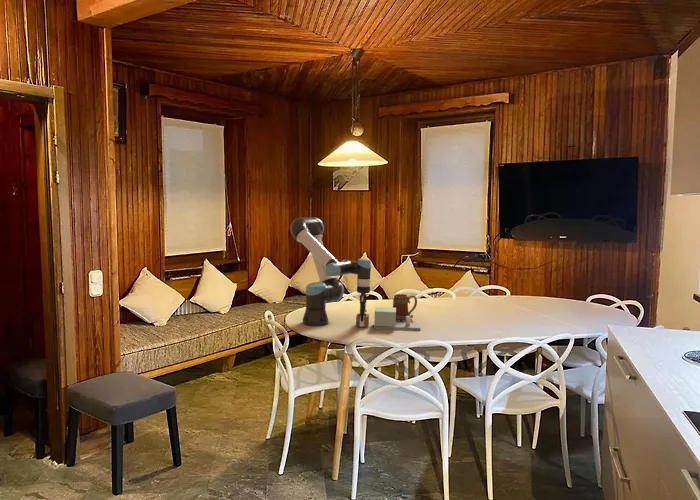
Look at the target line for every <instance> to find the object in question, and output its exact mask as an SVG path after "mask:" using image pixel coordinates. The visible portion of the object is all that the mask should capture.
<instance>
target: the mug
mask: <svg viewBox="0 0 700 500" xmlns="http://www.w3.org/2000/svg"><path fill="white" fill-rule="evenodd" d="M411 298H413V299H414V305H413V307H412V308H411V309H410V310H409V304H411V301H410V299H411ZM417 305H418V299H417V297H416V295H413V294H411V295H409V296H408V295H407V294H404V293H396V294H394V295H393V299H392V308H396V322H406V316H410V319H412V318H413V317H414V314H411V313H413V312H414V310H415V309H416V308H417Z"/></svg>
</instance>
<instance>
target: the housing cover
mask: <svg viewBox="0 0 700 500" xmlns="http://www.w3.org/2000/svg"><path fill="white" fill-rule="evenodd" d="M396 322H397V321H396V308H393V307H390V306H389V307H385V306H384V307H383V306H375V308H374V323H373V324H374V325H373V326H393V327H396Z"/></svg>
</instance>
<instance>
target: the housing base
mask: <svg viewBox="0 0 700 500" xmlns="http://www.w3.org/2000/svg"><path fill="white" fill-rule="evenodd" d="M410 316H411V315H410ZM410 316H406V321H396V327H393V326H374V325H373V326H374V327H373V328H374V330H389V331H390V330H391V331H393V330H395V331H396V330H397V331H398V330H399V331H418V332H421V324H420V322H411V318H410Z"/></svg>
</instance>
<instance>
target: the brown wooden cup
mask: <svg viewBox="0 0 700 500" xmlns="http://www.w3.org/2000/svg"><path fill="white" fill-rule="evenodd" d="M359 314H360V313H356V316H355V321H356V322H355V327H356V328H357V327H360V328H362V327H361V326H360V315H359ZM369 326H370V313H365V319H364V327H363V328H369Z"/></svg>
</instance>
